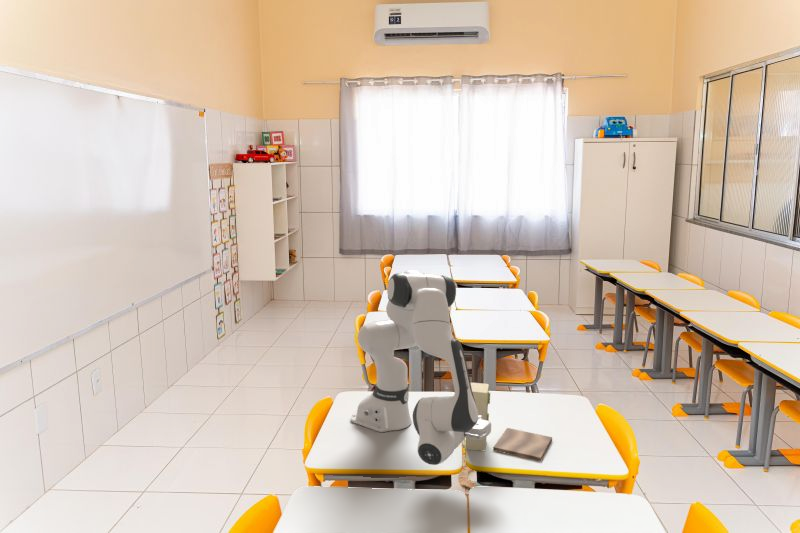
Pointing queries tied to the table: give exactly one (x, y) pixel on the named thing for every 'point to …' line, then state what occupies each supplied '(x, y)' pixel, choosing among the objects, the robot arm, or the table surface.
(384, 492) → the table surface
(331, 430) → the table surface
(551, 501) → the table surface
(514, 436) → the walnut platform
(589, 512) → the table surface
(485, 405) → the toy refrigerator
